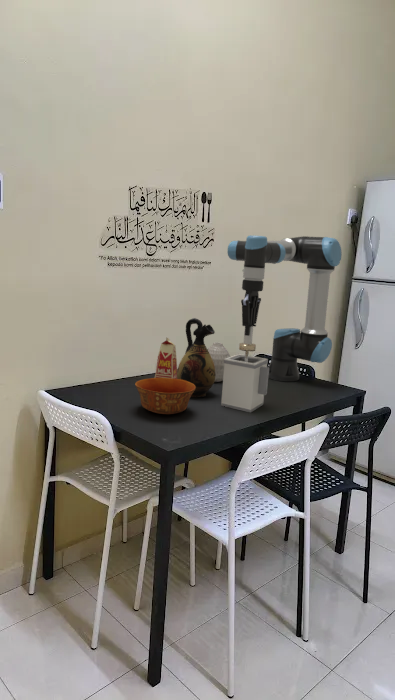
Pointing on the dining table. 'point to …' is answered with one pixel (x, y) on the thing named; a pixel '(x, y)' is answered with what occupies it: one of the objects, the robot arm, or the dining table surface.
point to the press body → (244, 382)
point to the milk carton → (166, 361)
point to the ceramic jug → (197, 360)
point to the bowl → (165, 394)
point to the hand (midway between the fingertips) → (247, 343)
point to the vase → (218, 359)
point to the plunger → (247, 349)
